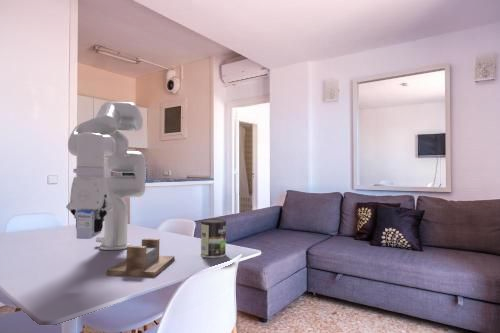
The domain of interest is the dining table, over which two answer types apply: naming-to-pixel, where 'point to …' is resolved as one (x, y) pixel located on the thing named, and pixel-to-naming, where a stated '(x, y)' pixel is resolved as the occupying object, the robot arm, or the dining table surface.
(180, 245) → the dining table surface
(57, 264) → the dining table surface
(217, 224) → the coffee can
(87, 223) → the medicine box
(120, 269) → the display stand
